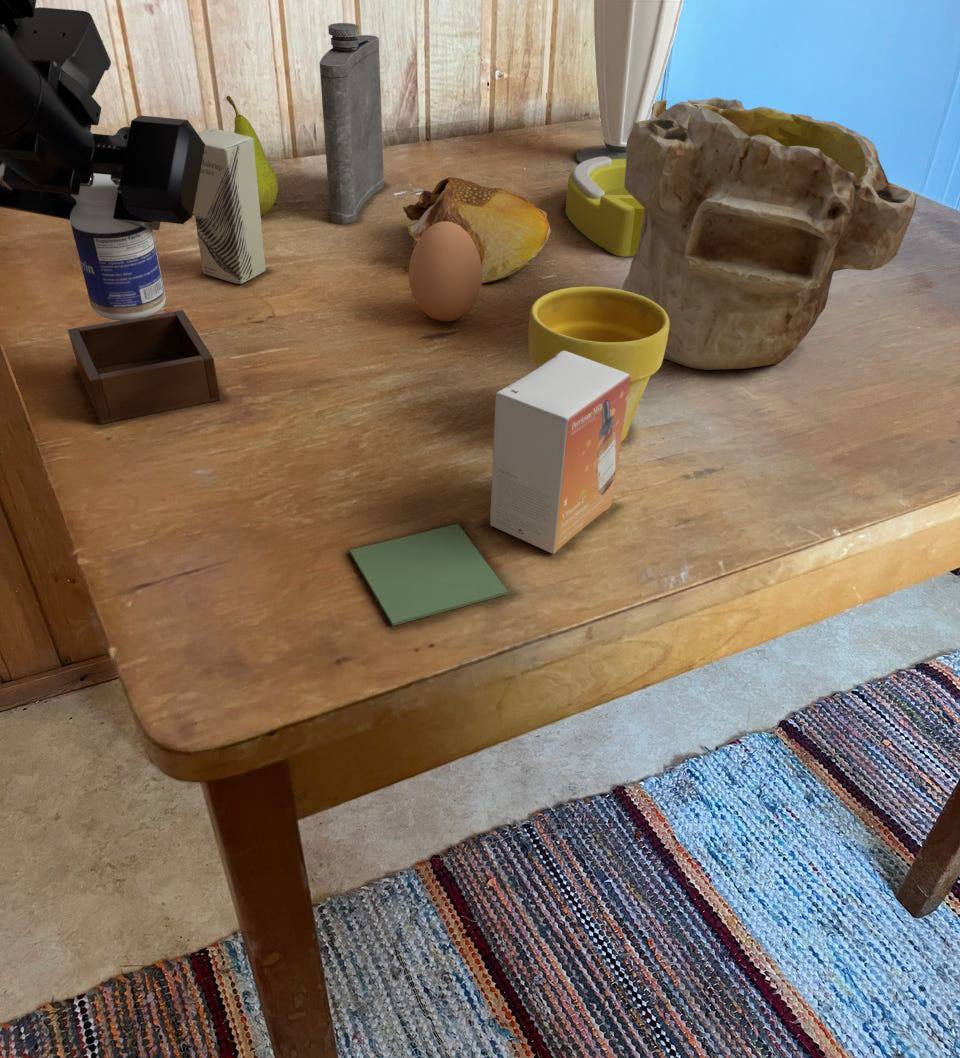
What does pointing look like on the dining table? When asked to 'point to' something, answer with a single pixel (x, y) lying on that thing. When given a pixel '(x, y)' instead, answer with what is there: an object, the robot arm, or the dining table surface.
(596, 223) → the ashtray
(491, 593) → the mat
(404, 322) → the dining table surface
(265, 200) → the fruit
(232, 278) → the box
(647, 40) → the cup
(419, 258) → the egg
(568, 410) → the small box
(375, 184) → the flask
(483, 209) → the seashell
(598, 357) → the flower pot
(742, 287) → the ceramic vessel
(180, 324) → the compartment
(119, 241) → the pill bottle
